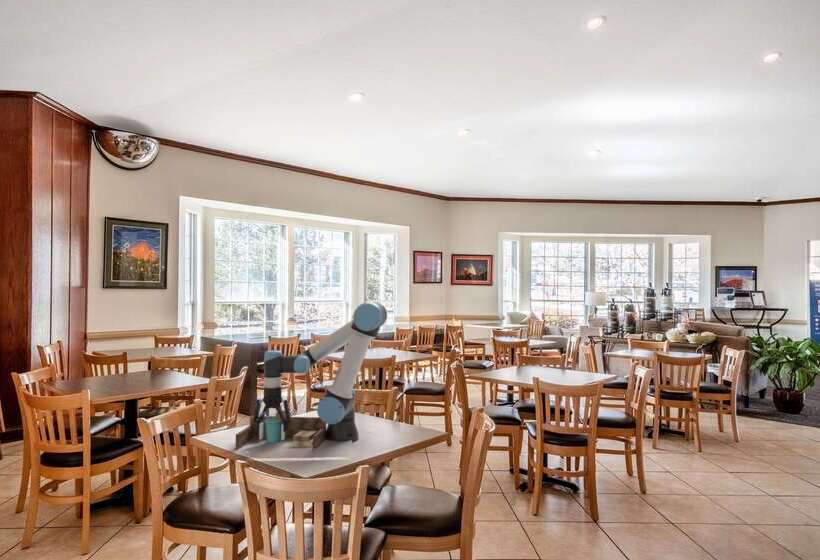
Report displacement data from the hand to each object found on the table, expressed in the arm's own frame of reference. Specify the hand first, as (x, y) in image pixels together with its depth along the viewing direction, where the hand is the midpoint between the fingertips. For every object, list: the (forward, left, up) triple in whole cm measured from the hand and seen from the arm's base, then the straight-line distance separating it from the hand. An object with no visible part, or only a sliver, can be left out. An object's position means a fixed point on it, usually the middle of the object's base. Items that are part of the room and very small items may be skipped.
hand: (272, 438), depth 235 cm
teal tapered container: (0, 0, -3) cm, 3 cm away
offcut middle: (-14, 0, -1) cm, 15 cm away
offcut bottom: (-14, 0, -3) cm, 15 cm away
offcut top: (-15, 0, +1) cm, 15 cm away
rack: (-4, -1, -2) cm, 5 cm away
